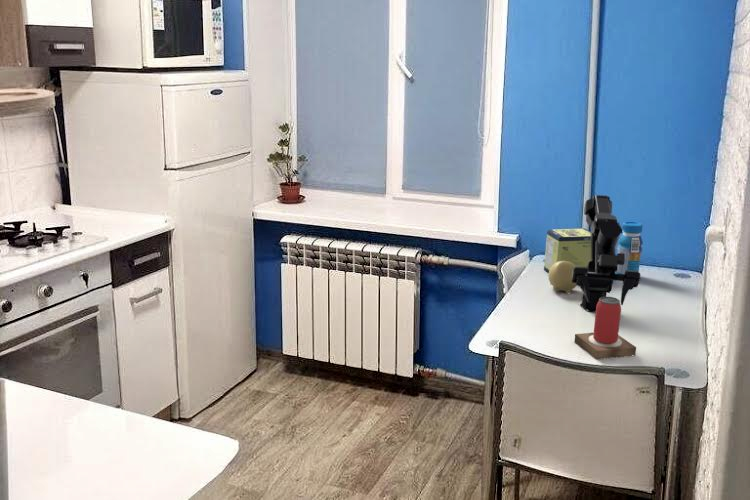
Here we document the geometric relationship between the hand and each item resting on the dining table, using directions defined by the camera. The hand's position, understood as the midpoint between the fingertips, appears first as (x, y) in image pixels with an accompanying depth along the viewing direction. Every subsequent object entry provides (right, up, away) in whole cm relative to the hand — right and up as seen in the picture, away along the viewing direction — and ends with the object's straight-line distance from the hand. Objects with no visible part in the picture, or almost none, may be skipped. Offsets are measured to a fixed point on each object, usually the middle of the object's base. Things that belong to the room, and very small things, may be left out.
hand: (605, 303), depth 218 cm
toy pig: (-1, +1, +43) cm, 43 cm away
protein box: (+5, +7, +62) cm, 63 cm away
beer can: (-2, -10, -5) cm, 11 cm away
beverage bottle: (+26, +5, +59) cm, 65 cm away
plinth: (-2, -12, -4) cm, 13 cm away
